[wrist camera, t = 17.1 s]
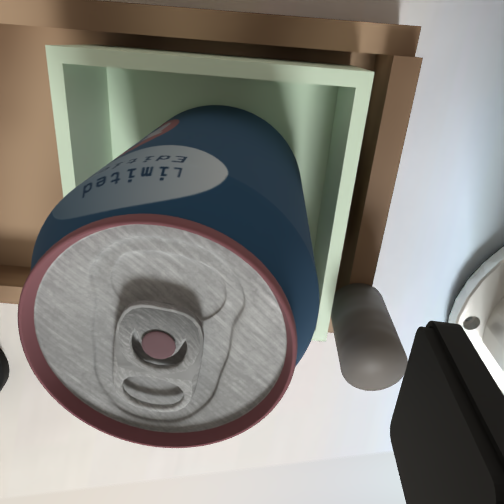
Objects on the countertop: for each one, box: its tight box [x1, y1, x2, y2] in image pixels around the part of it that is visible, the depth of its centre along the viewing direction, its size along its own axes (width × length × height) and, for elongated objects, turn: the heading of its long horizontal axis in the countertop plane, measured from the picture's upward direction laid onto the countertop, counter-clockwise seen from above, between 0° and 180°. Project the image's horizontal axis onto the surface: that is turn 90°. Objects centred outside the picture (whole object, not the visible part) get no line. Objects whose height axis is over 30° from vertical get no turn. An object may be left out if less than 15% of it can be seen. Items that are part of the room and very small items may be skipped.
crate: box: [45, 44, 375, 342], centre depth 18 cm, size 10×10×4 cm
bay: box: [0, 0, 423, 391], centre depth 18 cm, size 24×14×8 cm, turn 86°
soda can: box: [18, 105, 319, 448], centre depth 14 cm, size 7×7×12 cm
